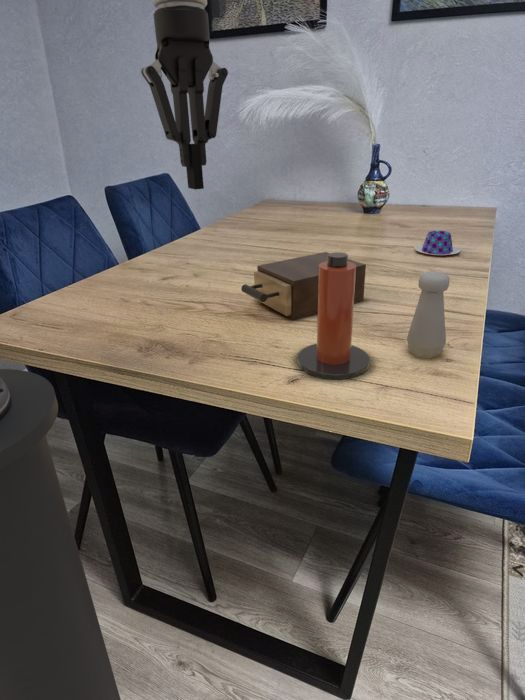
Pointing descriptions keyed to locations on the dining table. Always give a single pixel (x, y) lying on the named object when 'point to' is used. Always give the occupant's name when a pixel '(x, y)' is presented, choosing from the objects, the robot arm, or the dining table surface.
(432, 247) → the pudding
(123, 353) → the dining table surface
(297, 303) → the cabinet
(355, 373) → the coaster
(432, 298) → the salt shaker
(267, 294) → the drawer
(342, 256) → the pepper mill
